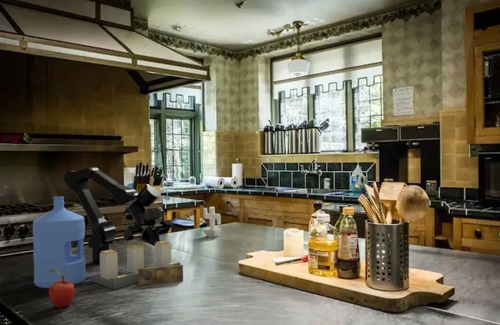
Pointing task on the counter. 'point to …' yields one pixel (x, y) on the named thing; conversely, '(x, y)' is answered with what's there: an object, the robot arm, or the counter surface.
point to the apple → (61, 292)
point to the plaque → (160, 274)
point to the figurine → (212, 222)
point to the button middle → (135, 258)
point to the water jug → (58, 246)
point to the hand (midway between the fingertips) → (159, 247)
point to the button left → (108, 264)
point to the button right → (162, 253)
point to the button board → (124, 278)
